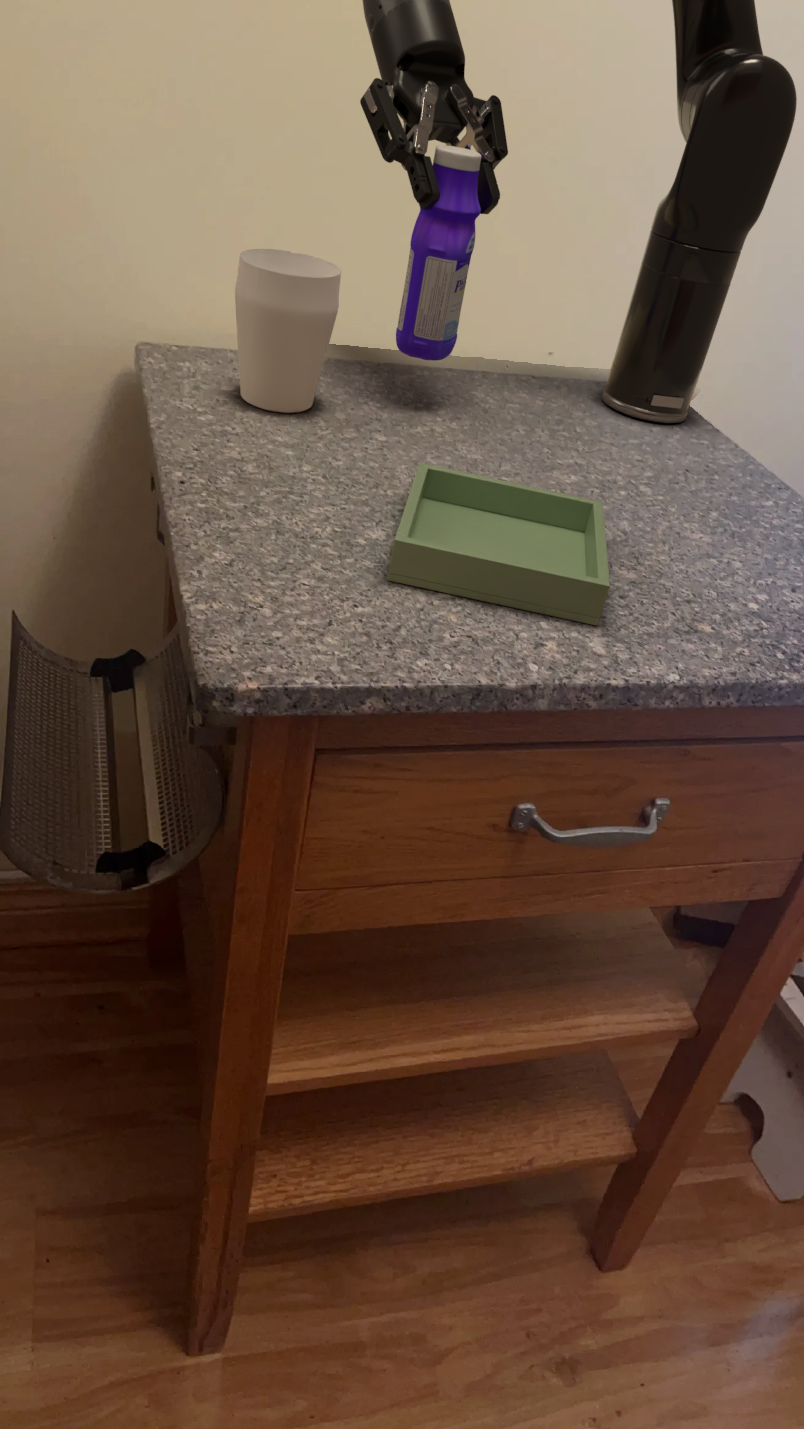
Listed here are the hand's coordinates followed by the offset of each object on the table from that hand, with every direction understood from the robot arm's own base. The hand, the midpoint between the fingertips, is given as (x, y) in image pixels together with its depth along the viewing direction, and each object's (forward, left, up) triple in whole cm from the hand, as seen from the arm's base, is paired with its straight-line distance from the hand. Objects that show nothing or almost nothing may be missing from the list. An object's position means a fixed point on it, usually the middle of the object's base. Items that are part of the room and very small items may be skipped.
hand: (461, 206), depth 90 cm
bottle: (-1, -1, -13) cm, 14 cm away
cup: (+7, -13, -18) cm, 23 cm away
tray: (+30, +9, -18) cm, 36 cm away
